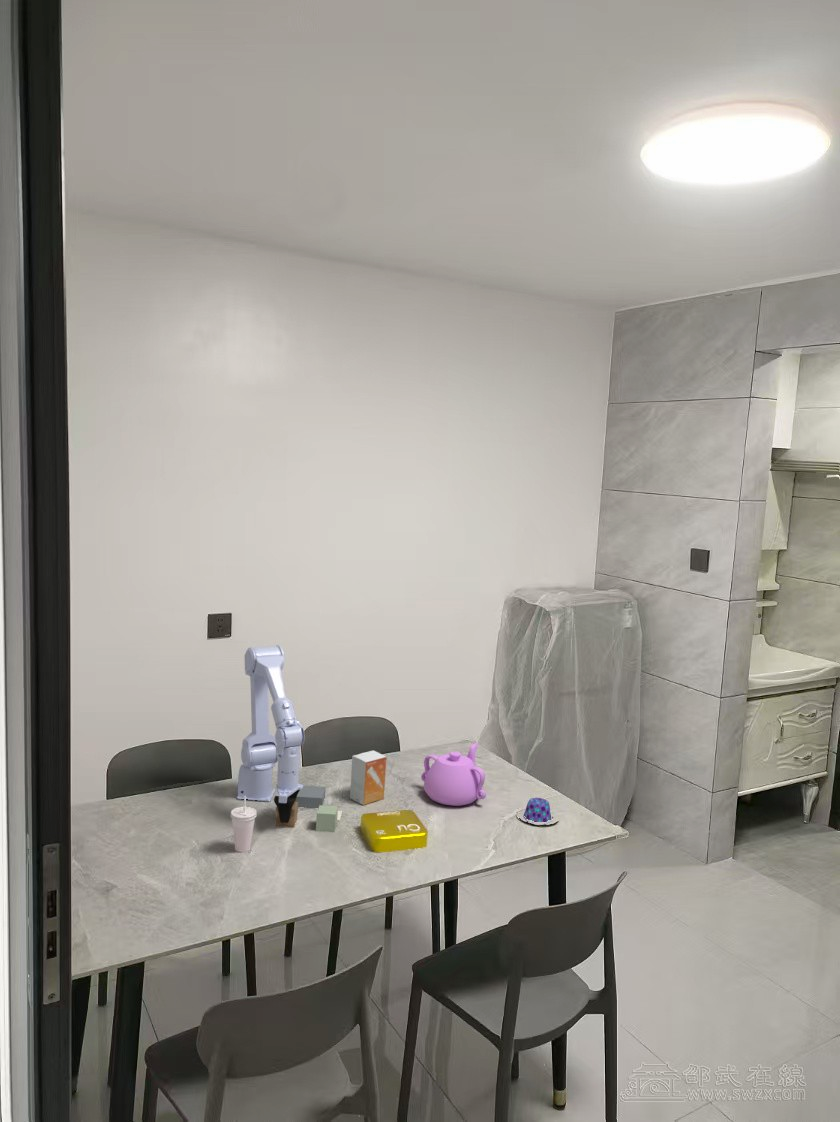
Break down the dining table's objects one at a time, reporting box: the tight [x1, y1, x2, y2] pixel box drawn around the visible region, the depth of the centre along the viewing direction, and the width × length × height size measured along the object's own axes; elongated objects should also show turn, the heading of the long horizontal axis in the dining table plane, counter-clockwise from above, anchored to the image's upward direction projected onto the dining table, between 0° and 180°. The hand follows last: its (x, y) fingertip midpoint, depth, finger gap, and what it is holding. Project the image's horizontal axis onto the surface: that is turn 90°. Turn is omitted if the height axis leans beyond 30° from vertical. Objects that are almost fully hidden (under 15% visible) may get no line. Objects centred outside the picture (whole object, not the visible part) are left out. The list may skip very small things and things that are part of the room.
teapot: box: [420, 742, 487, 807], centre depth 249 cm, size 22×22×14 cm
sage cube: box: [315, 804, 339, 833], centre depth 224 cm, size 5×5×5 cm
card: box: [337, 810, 343, 822], centre depth 231 cm, size 6×6×1 cm
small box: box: [349, 749, 387, 806], centre depth 243 cm, size 8×6×13 cm
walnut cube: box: [274, 802, 299, 828], centre depth 225 cm, size 5×5×5 cm
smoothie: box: [230, 796, 258, 853], centre depth 209 cm, size 6×6×14 cm
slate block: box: [295, 784, 327, 809], centre depth 239 cm, size 8×8×4 cm
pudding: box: [516, 797, 552, 822], centre depth 237 cm, size 12×12×5 cm
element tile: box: [360, 809, 429, 854], centre depth 220 cm, size 15×15×5 cm
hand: (286, 817), depth 225 cm, fingers closed on walnut cube, 5 cm apart
